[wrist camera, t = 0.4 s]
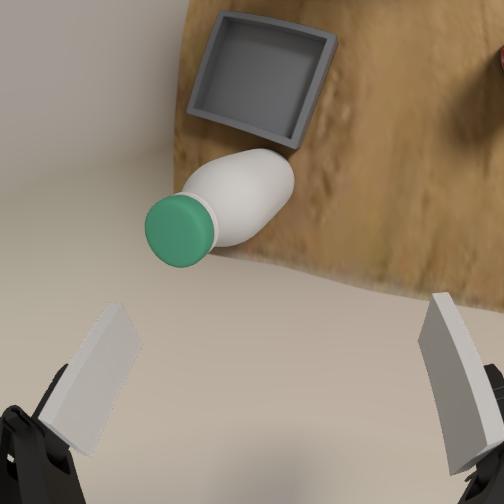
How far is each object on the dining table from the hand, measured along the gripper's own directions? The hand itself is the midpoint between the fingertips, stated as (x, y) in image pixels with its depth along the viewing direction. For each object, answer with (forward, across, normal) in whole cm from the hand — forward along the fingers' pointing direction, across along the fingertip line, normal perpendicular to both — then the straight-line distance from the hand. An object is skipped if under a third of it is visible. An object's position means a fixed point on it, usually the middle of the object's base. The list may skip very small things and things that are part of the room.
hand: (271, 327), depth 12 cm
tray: (+28, -2, +10) cm, 30 cm away
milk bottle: (+26, -3, -2) cm, 27 cm away
